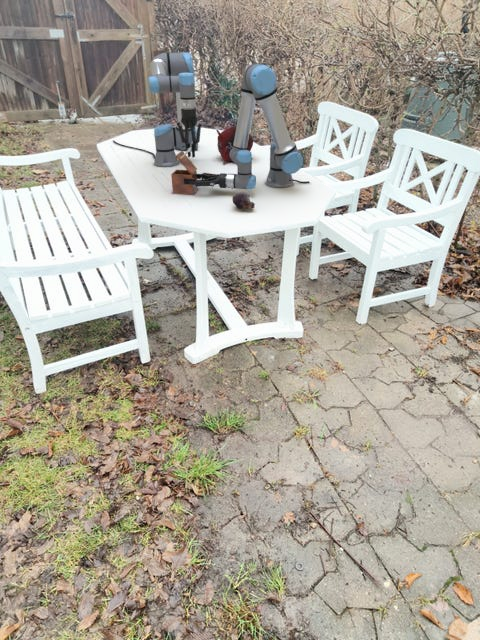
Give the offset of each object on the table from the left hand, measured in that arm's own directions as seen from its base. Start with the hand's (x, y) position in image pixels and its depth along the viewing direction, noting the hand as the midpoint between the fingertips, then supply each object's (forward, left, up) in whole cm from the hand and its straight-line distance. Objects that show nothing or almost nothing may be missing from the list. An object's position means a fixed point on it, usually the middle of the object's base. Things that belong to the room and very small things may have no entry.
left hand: (191, 156), depth 237 cm
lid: (-3, -2, -4) cm, 5 cm away
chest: (-4, -2, -19) cm, 20 cm away
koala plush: (-75, +61, -19) cm, 99 cm away
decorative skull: (-28, +63, -19) cm, 72 cm away
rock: (+38, -2, -19) cm, 42 cm away
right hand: (-3, -2, -12) cm, 12 cm away
